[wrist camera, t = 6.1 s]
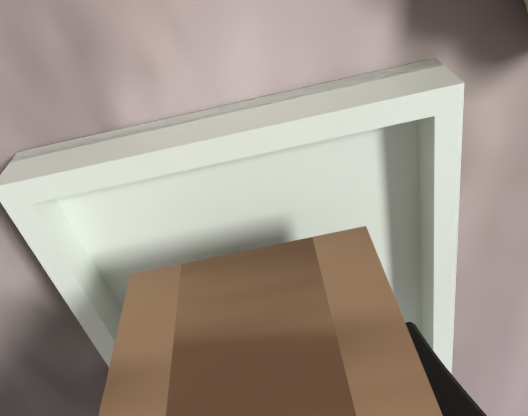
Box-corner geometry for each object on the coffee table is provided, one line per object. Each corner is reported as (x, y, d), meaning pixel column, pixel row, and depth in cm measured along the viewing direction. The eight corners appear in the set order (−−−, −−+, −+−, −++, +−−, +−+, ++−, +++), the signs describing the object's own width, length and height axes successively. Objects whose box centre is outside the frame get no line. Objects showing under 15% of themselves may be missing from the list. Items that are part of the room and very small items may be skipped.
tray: (435, 57, 11) (464, 82, 10) (433, 337, 17) (451, 377, 15) (17, 152, 12) (-10, 187, 10) (156, 390, 17) (151, 432, 16)
